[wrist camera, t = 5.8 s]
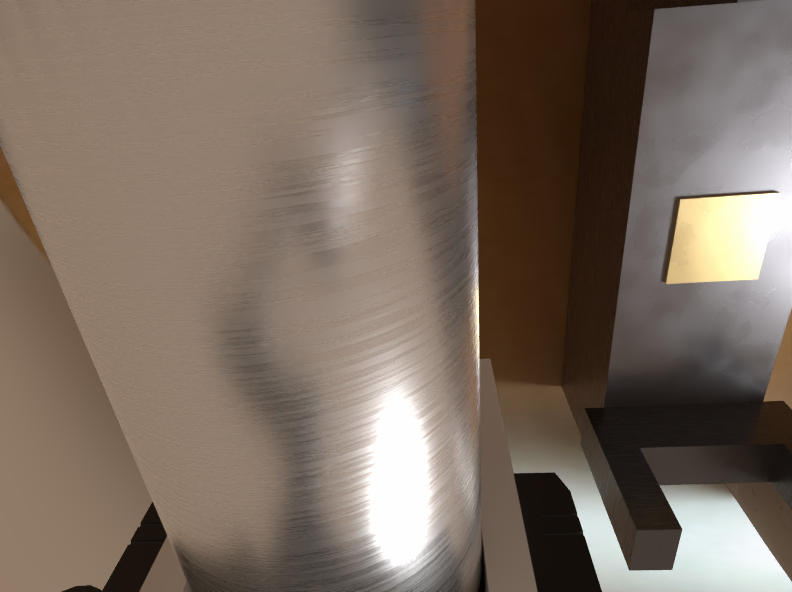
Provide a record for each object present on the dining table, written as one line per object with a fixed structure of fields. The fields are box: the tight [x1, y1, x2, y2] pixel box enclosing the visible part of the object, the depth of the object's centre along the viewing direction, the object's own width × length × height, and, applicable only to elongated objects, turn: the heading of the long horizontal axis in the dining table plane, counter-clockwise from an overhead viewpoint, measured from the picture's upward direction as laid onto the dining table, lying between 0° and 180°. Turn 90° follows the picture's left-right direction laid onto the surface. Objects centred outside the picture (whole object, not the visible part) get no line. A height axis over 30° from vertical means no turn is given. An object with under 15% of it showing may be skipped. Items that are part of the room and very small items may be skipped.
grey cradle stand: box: [562, 0, 792, 570], centre depth 23 cm, size 28×10×16 cm, turn 5°
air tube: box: [0, 0, 485, 592], centre depth 10 cm, size 26×5×5 cm, turn 5°
